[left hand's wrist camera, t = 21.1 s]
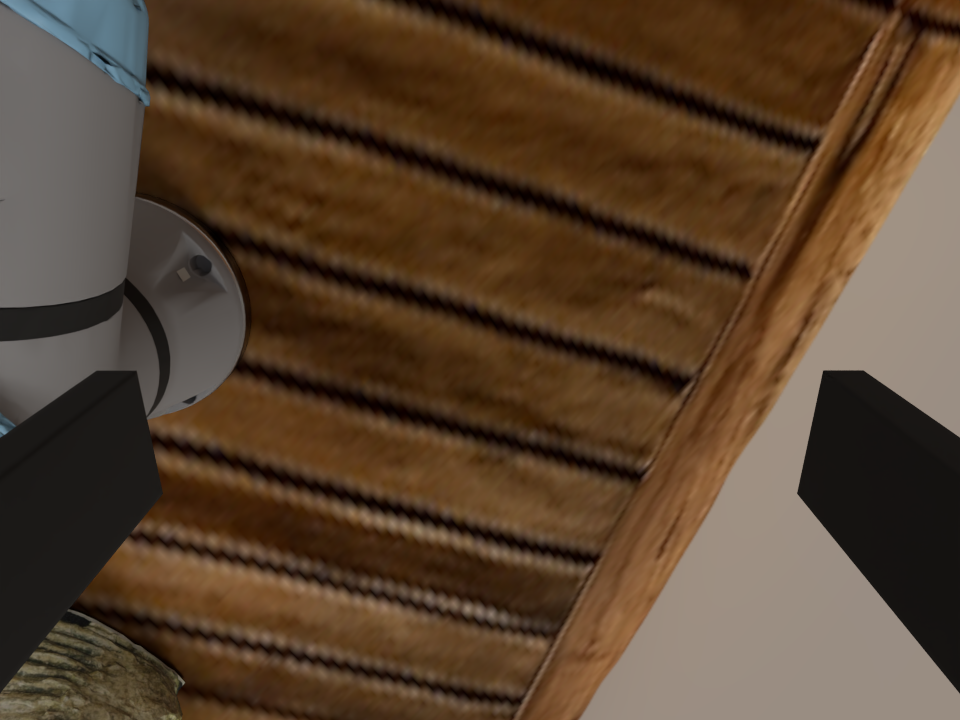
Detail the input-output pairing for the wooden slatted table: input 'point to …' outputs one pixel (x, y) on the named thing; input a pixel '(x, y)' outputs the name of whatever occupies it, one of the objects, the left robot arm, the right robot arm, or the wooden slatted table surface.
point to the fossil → (91, 678)
